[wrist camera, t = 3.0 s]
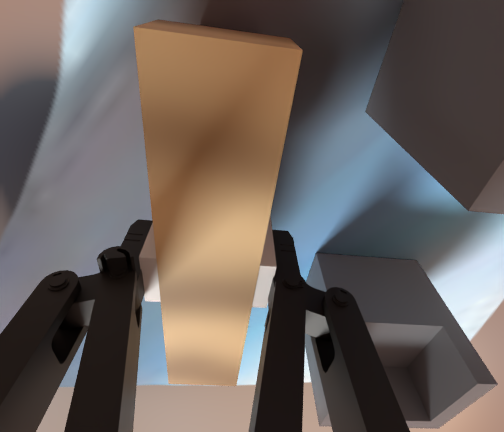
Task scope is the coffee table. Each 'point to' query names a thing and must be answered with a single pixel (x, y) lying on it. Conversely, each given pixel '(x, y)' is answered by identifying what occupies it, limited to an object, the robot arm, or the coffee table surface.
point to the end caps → (451, 178)
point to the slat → (211, 181)
